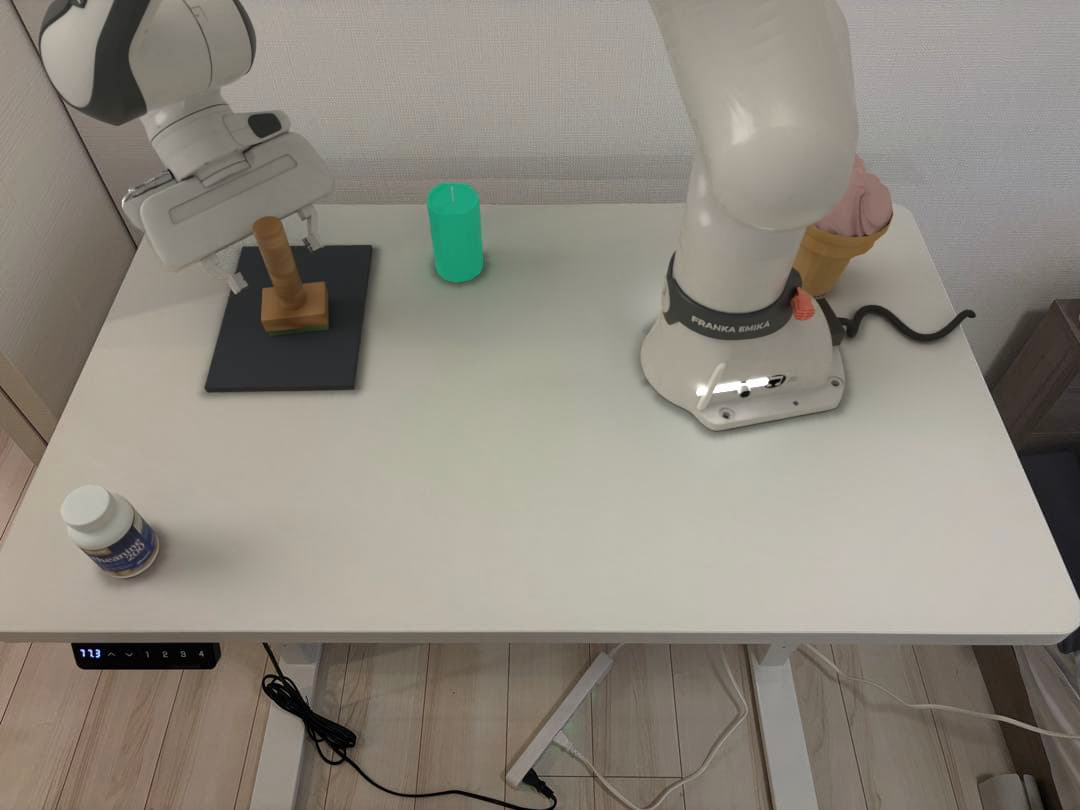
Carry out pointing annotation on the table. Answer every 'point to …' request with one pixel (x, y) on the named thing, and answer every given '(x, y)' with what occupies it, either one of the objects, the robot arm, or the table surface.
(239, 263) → the mat
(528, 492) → the table surface
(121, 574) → the pill bottle
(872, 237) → the ice cream cone
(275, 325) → the wooden stamp
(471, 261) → the candle
